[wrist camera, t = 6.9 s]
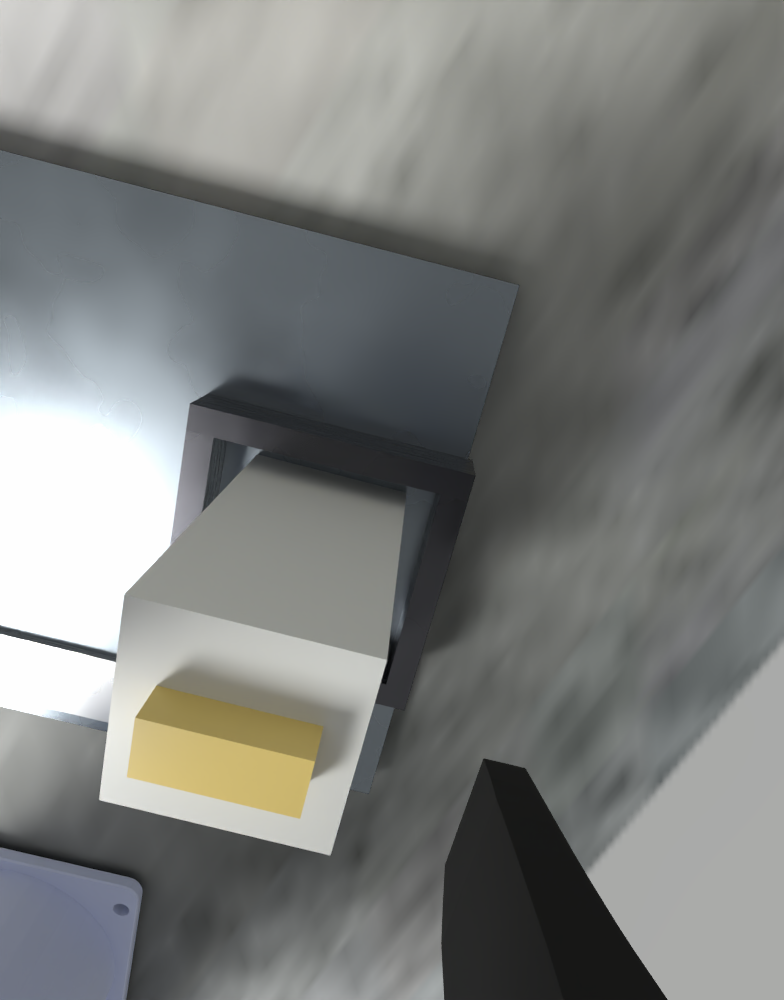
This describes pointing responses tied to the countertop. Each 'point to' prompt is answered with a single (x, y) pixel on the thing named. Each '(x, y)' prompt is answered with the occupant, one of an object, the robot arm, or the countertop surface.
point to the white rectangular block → (257, 657)
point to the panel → (209, 407)
